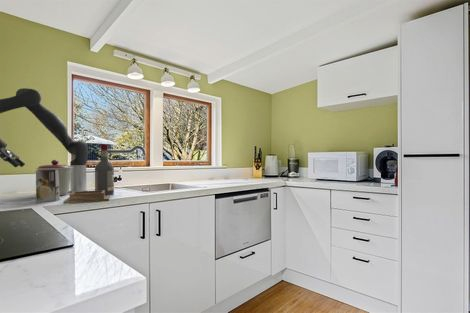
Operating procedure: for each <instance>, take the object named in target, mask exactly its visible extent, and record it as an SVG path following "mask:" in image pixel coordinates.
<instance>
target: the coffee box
mask: <svg viewBox="0 0 470 313" xmlns="http://www.w3.org/2000/svg"><path fill="white" fill-rule="evenodd" d="M35 196H36V199H35V201H36V203H38V202H39V203H40V202H41V203H42V202H57V201H59V200H61V198H60V197H61V196H60V189H59V170H37V169H35Z"/></svg>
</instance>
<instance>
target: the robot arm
mask: <svg viewBox="0 0 470 313" xmlns="http://www.w3.org/2000/svg"><path fill="white" fill-rule="evenodd" d="M41 94H42V93H40V92H39V91H38V90H36V89H34V88H27V87H26V88H25V87H24V88H19V89H17V91H16V92H15V95H14V96H10V97H7V98H5V97H4V98H1V99H0V114H3V113H6V112H9V111H12V110H16V109H20V108H26V109H27V110H28V111H30V113H31V114H32V115H34V116H35V117H36V119H37V120H38V121H39V122H40V123H41V124H42V125H43V126H44V127H45V128H46V129H47V130H48V131H49V132H50V134H52V135H53V136H54V137H55V138H56V139H57V140H58V141H59V142H60V144H62V146H63V147H64V149H65V150H66V151H67V152H68V153H69V154H70V155H72V156H74V159H72V160H70V162H69V163H70V164H69V166H71V167H73V168H72V169H71V177H70V185H69V191H70V193H72V192H77V191H87V162H88V158H89V155H88V154H89V147H88V144H87V142H86V141H83V140H77V141H76V140H74V139H73V138H72V137H71V136H70V135H69V133H68V129H67V126H66V124H65V123H64V121H63V120H62V119H61V118H60V117H59V116H58V115H56V114H55V113H54V112H52V111H51V110H50V109H48V108H47V107H46V106H44V105H43V104H42V103H41V101H42V95H41ZM7 146H8V144H7V143H6V142H5V141H4V140H3V139H1V138H0V158H1V159H2V160H3V161H4V162H7V163H9V164H10V165H12V166H13V167H14V168H18V167H20V168H23V167H24V166H26V164H25V162H23V161H22V160H21V159H20V157H19V156H18V155H16V154H15V153H14V152H13V151H12V150H10V149H6V147H7Z"/></svg>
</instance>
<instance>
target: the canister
mask: <svg viewBox="0 0 470 313" xmlns="http://www.w3.org/2000/svg"><path fill="white" fill-rule="evenodd" d="M72 168H73V167H71V166H70V164H68V165H67V164H59V160H57V159H53V160H51V164H43V165H40V166H38V167H36V169H35V170H59V189H60V197H61V196H65V195H67V194H68V193H69V191H70V177H71V169H72Z"/></svg>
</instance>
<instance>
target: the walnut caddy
mask: <svg viewBox="0 0 470 313" xmlns="http://www.w3.org/2000/svg"><path fill="white" fill-rule="evenodd" d="M68 196H69V197H67V198H66V199H65V200H63V204H74V203H75V204H77V203H92V202H95V203H96V202H108V201H110V197H111V195H105V190H99V191H95V190H86V191H77V192H70V193H69V195H68Z"/></svg>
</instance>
